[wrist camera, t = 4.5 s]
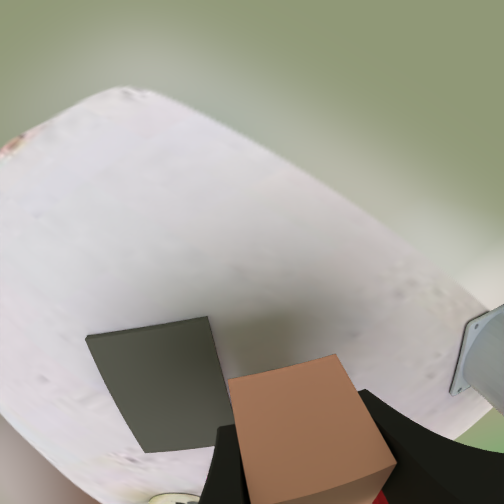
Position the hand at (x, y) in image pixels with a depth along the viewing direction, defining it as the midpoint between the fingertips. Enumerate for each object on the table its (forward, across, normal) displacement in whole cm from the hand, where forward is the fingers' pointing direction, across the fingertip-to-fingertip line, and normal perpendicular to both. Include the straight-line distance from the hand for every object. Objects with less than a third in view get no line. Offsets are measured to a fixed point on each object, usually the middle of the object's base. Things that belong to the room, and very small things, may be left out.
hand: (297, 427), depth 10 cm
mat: (+7, +6, +3) cm, 10 cm away
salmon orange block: (+2, 0, +3) cm, 4 cm away
